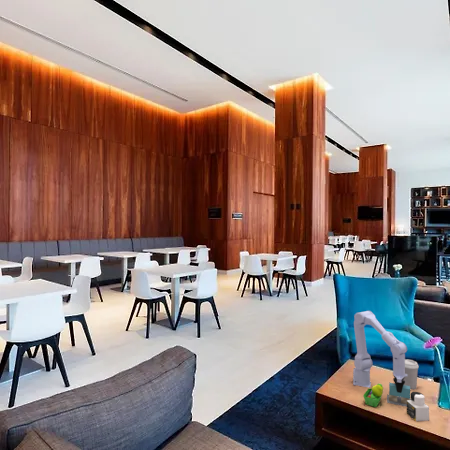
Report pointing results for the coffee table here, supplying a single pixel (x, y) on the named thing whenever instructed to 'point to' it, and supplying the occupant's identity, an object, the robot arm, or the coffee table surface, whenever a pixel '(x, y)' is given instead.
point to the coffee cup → (411, 373)
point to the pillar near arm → (392, 398)
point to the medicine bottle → (417, 407)
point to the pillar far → (404, 400)
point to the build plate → (396, 402)
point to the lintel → (393, 391)
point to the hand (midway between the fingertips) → (399, 390)
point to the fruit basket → (373, 395)
